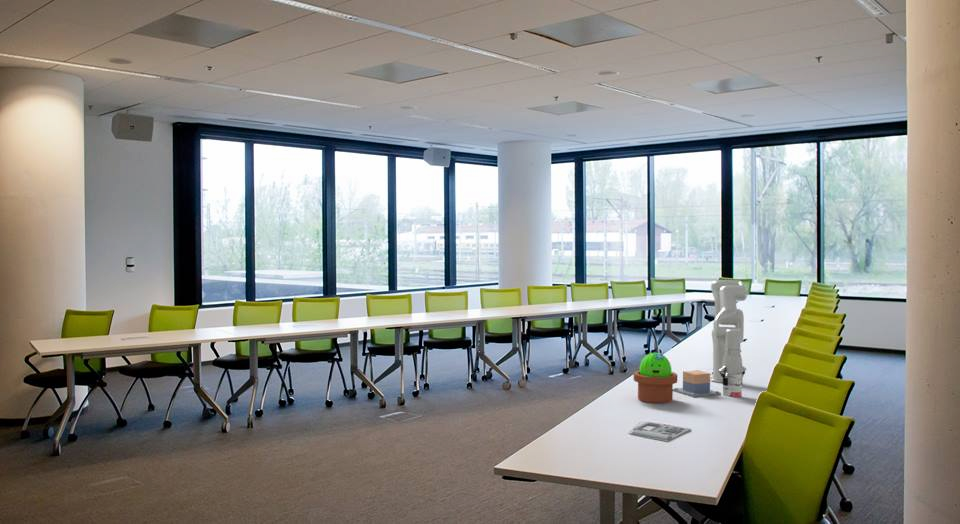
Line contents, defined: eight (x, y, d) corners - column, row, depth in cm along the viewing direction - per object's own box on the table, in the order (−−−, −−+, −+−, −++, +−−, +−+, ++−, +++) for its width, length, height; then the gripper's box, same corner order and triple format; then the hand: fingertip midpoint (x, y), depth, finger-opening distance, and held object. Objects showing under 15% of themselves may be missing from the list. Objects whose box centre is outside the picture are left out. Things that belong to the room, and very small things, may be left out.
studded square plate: (698, 388, 406) (699, 368, 406) (721, 394, 390) (721, 374, 389) (672, 390, 399) (672, 370, 399) (693, 397, 383) (693, 376, 382)
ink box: (742, 396, 386) (742, 374, 385) (736, 397, 383) (737, 375, 382) (727, 393, 392) (727, 371, 392) (722, 394, 389) (722, 372, 389)
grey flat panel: (667, 437, 299) (623, 429, 311) (667, 444, 299) (623, 435, 311) (691, 425, 317) (648, 418, 329) (691, 431, 317) (648, 424, 329)
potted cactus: (633, 394, 390) (633, 347, 389) (675, 396, 386) (676, 349, 385) (633, 403, 369) (633, 354, 368) (678, 405, 364) (678, 355, 363)
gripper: (740, 350, 393) (740, 382, 394) (714, 352, 387) (714, 384, 387) (750, 352, 386) (750, 384, 387) (724, 354, 380) (724, 387, 380)
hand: (732, 384), depth 387 cm, fingers open, 9 cm apart
